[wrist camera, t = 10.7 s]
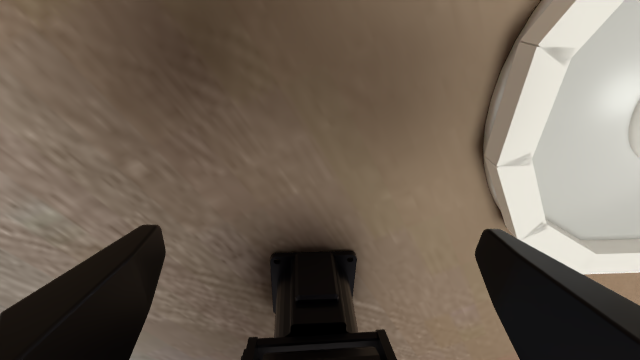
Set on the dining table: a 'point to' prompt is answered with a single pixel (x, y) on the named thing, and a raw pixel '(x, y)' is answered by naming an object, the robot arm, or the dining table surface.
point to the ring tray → (571, 135)
